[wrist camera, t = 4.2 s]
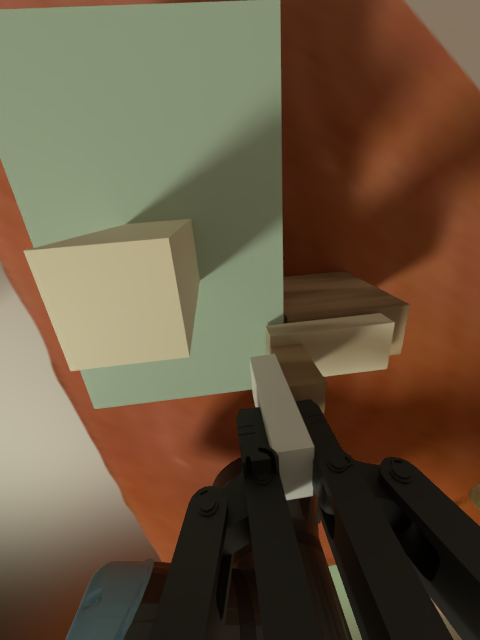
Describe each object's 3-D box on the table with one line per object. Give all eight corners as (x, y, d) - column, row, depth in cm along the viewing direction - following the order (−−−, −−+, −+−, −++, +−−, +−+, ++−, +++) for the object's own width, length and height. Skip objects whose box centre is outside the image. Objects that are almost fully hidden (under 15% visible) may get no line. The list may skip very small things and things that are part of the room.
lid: (277, 369, 23) (333, 508, 12) (105, 389, 22) (11, 557, 11) (270, 28, 14) (431, -442, 4) (-15, 40, 13) (-796, -519, 3)
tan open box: (341, 315, 30) (398, 365, 21) (135, 337, 29) (100, 401, 20) (359, 89, 22) (467, 8, 13) (74, 105, 21) (-35, 28, 11)
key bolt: (373, 356, 20) (430, 409, 15) (267, 369, 20) (287, 428, 14) (380, 313, 19) (444, 354, 14) (265, 325, 18) (286, 374, 13)
